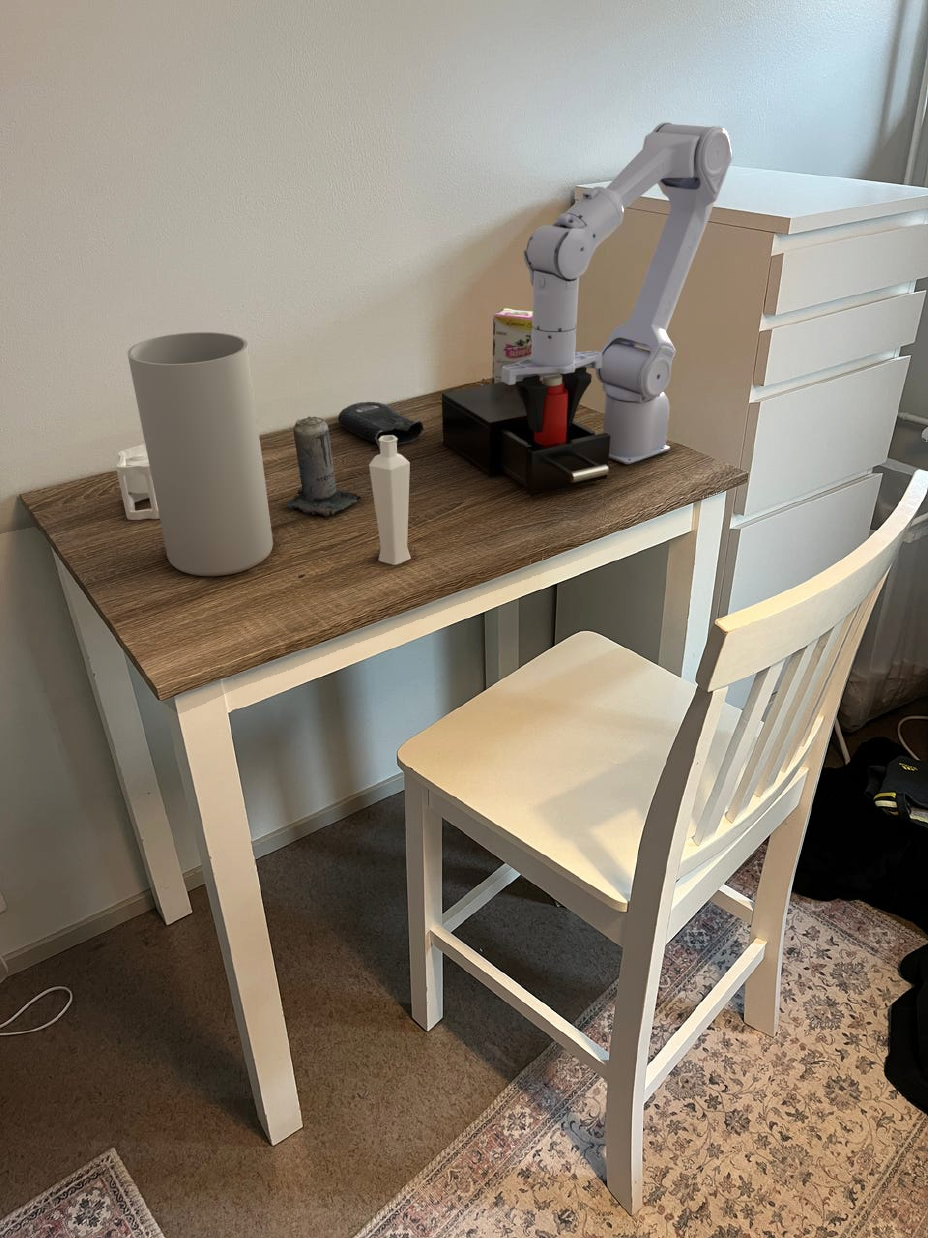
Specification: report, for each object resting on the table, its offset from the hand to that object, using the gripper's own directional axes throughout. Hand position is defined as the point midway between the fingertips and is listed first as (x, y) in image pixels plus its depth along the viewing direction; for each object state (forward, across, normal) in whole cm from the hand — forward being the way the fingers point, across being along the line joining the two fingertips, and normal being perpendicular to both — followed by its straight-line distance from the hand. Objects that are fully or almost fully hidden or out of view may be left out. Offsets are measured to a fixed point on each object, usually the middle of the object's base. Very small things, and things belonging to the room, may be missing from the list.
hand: (550, 427), depth 129 cm
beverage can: (+8, -31, +7) cm, 32 cm away
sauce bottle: (+2, 0, 0) cm, 2 cm away
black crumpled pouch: (+8, -13, +30) cm, 33 cm away
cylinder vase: (+8, -47, 0) cm, 47 cm away
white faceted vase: (+8, -28, -11) cm, 31 cm away
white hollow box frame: (+8, -45, +20) cm, 50 cm away
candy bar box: (+8, +11, +24) cm, 27 cm away
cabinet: (+8, 0, +12) cm, 14 cm away
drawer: (+7, 0, -1) cm, 7 cm away
